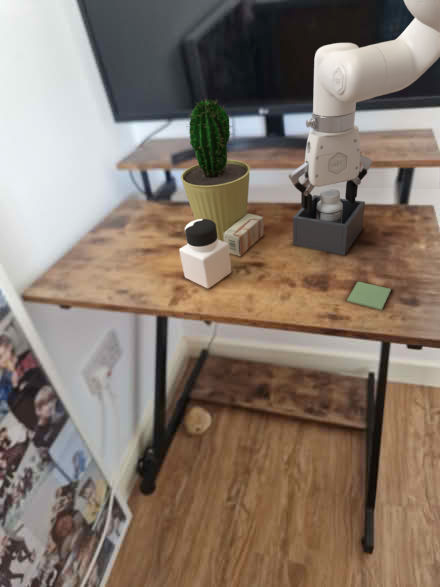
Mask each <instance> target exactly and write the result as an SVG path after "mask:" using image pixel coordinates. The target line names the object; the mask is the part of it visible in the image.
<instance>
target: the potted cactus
mask: <svg viewBox="0 0 440 587" xmlns="http://www.w3.org/2000/svg"><path fill="white" fill-rule="evenodd" d="M200 100H201V101H198V102H196V101H195V100H194V102H195V103H196V104H195V106H194V108H193V110H191V112H190V111H188V112H189V113H187V114H185V115H187V117H188V118H189V119H190V120H187V121H188V123H187V124H186V126H185V127H186V128H188V129H187V131H188V134H189V137H188V138H189V139H190V140H189V147H191V148H192V149H193V150H192V151H194V155H195V157H196V158H195V162H196V164H194V165H192V166H190V167H188V168H187V169H185V170H184V171H183V172H182V173H181V175H180V179H181V183H182V186H183V189H184V192H185V194H186V198H187V200H188V203H189V206H190V209H191V213H192V215H193V219H194V220H198V219H209V220H212V221H213V222H214V223H215V224H216V229H217V236H218V240H220V241H223V242H224V234H223V233H224V232H225V231H227V230H228V229H229V228H230V227H232V226H233V225H234V224H235V223H237V222H238V221H239V220H240V219H241V218H243V217H244V216H245V215H246V214H248V201H249V188H250V172H251V166H250V165H249V164H247V163H246V162H243V161H241V160H237V159H228V153H229V148H228V147H227V145H228V144H229V145H231V146H232V144H231V143H229V142H230V137H231V136H233V135H235V134H234V133H235V131H234V132H231V130H230V129H231V128H233V125H231V124H230V117H231V116H233V115H231V114H232V112H229V114H228V113H227V112H226V110H225V108H224V107H225V105H223V106H222V107H221V106H220V104H219V103H218V100H219V99H215V100H212V99H207V98H204V100H203V99H200Z"/></svg>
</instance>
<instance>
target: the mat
mask: <svg viewBox="0 0 440 587" xmlns="http://www.w3.org/2000/svg"><path fill="white" fill-rule="evenodd" d="M391 292H392V289H391V288H388V287H384V286H380V285H375V284H371V283H367V282H363V281H357V282H356V283H355V285H354V287H353V289H352V290H351V292H350V294H349V296H348V297H347V299H346V302H347V303H353V304H356V305H360V306H364V307H368V308H372V309H375V310H380V311H382V310H383V308H384V307H385V304H386V302H387V300H388V298H389V296H390V294H391Z"/></svg>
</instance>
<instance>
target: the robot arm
mask: <svg viewBox="0 0 440 587" xmlns="http://www.w3.org/2000/svg"><path fill="white" fill-rule="evenodd" d="M403 2H404V5H405V6H406V9H407V10H408V11H409V12H410V14H411V15H412V16H413V17H414V18H413V19H412V21H411V22H410V23H409V25H407V27H406V28H405V29H404V31H402V33H401V34H400V35H399V36H398V37H397V38H395V39H393V40H387V41H381V42H378V43H374V44H370V45H366V46H362V47H359V46H358V45H357V44H355V43H352V42H336V43H331V44H326V45H322V46H320V47H319V48H318V49H317V50H316V51H315V55H314V59H313V60H314V61H313V62H314V64H313V66H314V67H313V95H312V96H313V97H312V98H313V99H312V100H313V104H312V113H311V117H310V118H309V119H306V120H305V126H306V128H311V129H310V130H309V132H308V136H307V141H306V146H305V153H304V162H303V163H302V164H301V165H300V166H298V167H297V168H296V169H295V170H293V171H291V172H290V173H289V174H288V178H289V180H290V182H291V184H292V185H293V187H294V188H295V189H296V190H297V191H299V192H300V195H301V198H300V201H301V202H300V205H301V208H304V209H305V210H306V211H307V212H308V213H311V212H312V196H313V195H312V194H311V192H312V191H313V190H314V189H315V187H318V188H320V187H324V186H325V187H326V186H330V185H336V184H340V183H345V182H346V183H345V184H346V185H345V196H344V199H347V200H348V201H349V202H350V203H352V204H354V203H355V200H356V198H357V196H358V189H359V186H360V185H361V183H362V180H363V179H364V178H365V177H366V175H368V171H369V170H370V168H371V165H372V164H373V160H372V159H371V158H370V157H367V156H365V155H362V154H361V138H360V130H359V126H358V125H355V121H356V109H357V108H356V107H357V106H356V105H357V103H359V102H363V101H366V100H371V99H374V98H376V97H381V96H384V95H389V94H392V93H396V92H399V91H401V90H404V89H405V88H407V87H409V86H411V85H412V84H413V83H414V82H416V81H417V80H418V79H419V78H421V76H423V74H425V73H426V72H427V70H428V69H430V68H431V67H432V66H433V65H434V64H435V63H436V61H438V59H439V58H440V0H403ZM303 175H304V178H305V179H304V180H303V181H302V183H301V182H300V180H299V179H300V178H301V177H302V176H303Z"/></svg>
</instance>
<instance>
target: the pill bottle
mask: <svg viewBox="0 0 440 587" xmlns="http://www.w3.org/2000/svg"><path fill="white" fill-rule="evenodd" d="M319 196H320V201H319V202H318V203H317V207H316V219H317V220H323V221H329V222H336V223H342V209H343V204H342V202H341V201H340V200H339V199H340V198H341V191H340V190H338V189H335V188H326V189H323V190H321V191H320V193H319Z"/></svg>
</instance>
